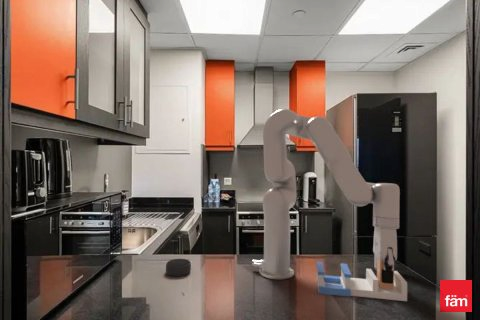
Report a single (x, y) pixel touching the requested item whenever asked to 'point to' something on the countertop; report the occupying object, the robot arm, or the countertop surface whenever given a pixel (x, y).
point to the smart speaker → (178, 267)
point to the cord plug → (379, 275)
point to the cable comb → (359, 285)
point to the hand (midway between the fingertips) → (385, 279)
